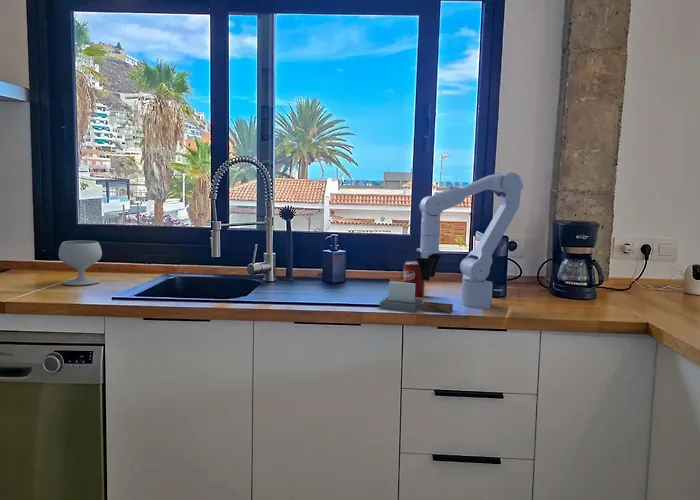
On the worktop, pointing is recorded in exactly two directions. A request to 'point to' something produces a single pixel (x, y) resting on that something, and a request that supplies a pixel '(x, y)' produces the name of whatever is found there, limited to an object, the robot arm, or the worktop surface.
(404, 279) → the soda can
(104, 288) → the worktop surface
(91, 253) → the chalice
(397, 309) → the rack
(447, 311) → the stand
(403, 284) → the light grey block
